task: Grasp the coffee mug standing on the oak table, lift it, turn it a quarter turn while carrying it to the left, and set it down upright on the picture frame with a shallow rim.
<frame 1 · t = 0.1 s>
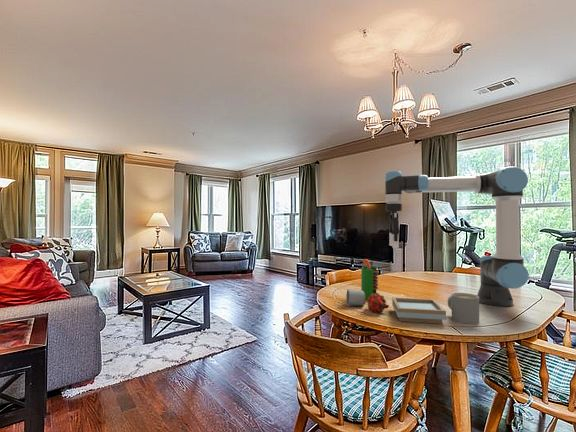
hand: (393, 247, 152), 28 cm above the table, tool pointing down, fingers open, 13 cm apart
dragon fruit: (377, 311, 141), on the table
green and brown toy: (369, 298, 165), on the table
coffee mug: (462, 318, 130), on the table
ceramic mug: (354, 305, 152), on the table
picture frame: (417, 316, 133), on the table
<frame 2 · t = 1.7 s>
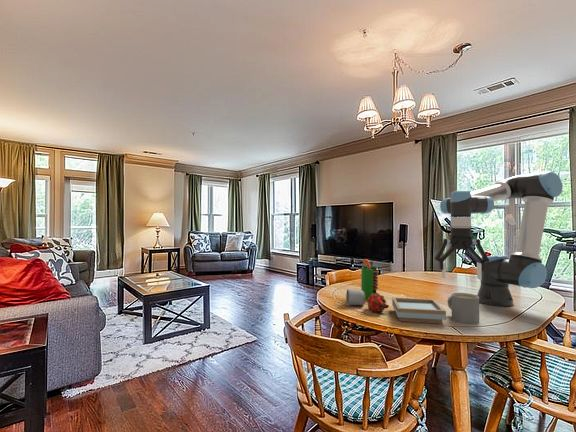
hand: (461, 278, 131), 17 cm above the table, tool pointing down, fingers open, 13 cm apart
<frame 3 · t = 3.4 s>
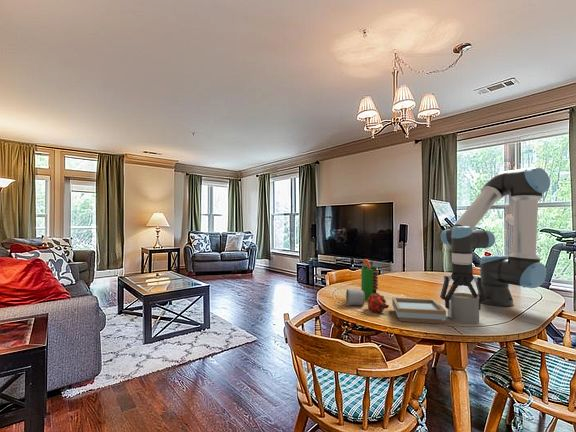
hand: (462, 317, 130), 1 cm above the table, tool pointing down, fingers closed on coffee mug, 9 cm apart
coffee mug: (462, 319, 130), on the table, touching gripper
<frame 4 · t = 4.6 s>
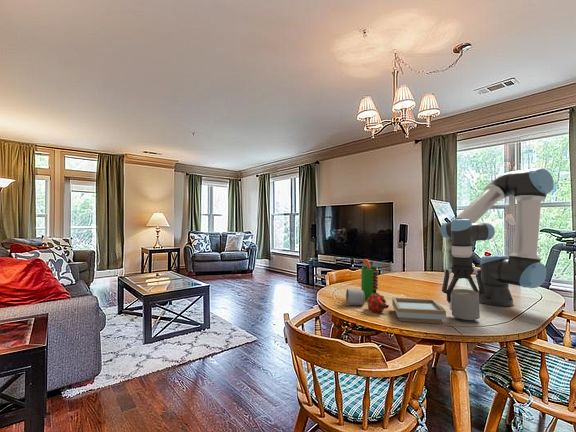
hand: (463, 310, 131), 3 cm above the table, tool pointing down, fingers closed on coffee mug, 8 cm apart
coffee mug: (462, 315, 131), point 1 cm above the table, touching gripper
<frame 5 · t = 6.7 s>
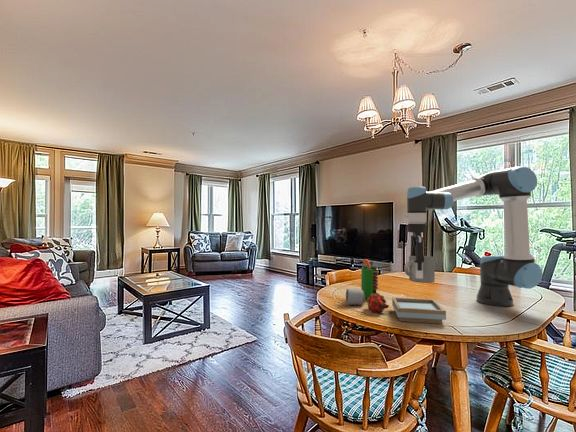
hand: (416, 276, 133), 17 cm above the table, tool pointing down, fingers closed on coffee mug, 8 cm apart
coffee mug: (417, 281, 133), point 15 cm above the table, touching gripper
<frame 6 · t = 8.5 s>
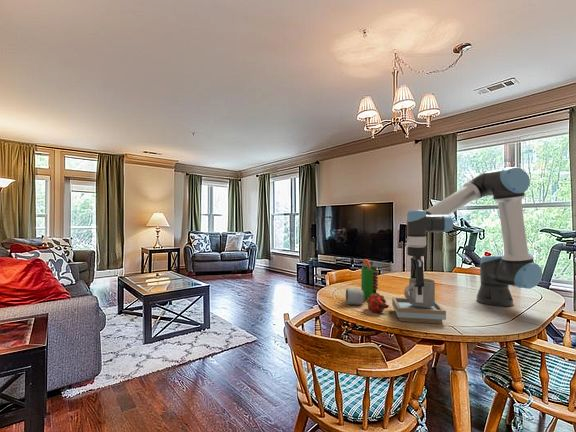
hand: (417, 299, 133), 7 cm above the table, tool pointing down, fingers closed on coffee mug, 8 cm apart
coffee mug: (418, 304, 133), point 5 cm above the table, touching gripper
when the fingers open (7 cm above the table, at t = 8.5 s): coffee mug moves 5 cm, resting on picture frame.
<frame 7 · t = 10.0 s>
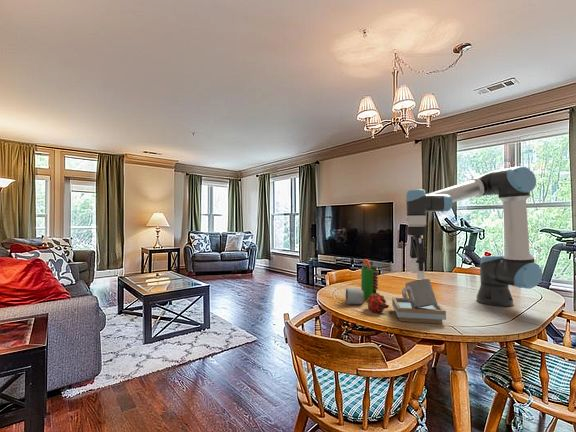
hand: (417, 275, 133), 17 cm above the table, tool pointing down, fingers open, 13 cm apart
coffee mug: (420, 307, 128), point 6 cm above the table, touching picture frame
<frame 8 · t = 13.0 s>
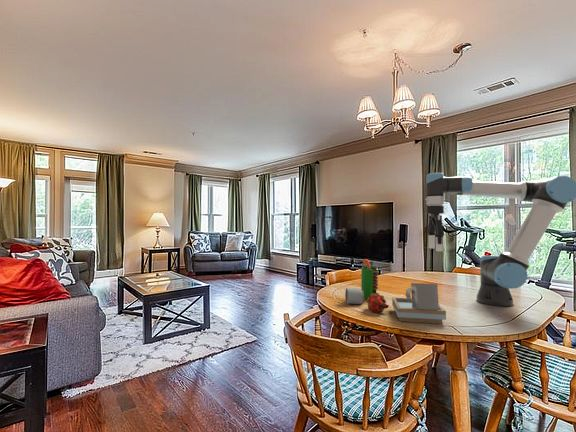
hand: (435, 249, 150), 27 cm above the table, tool pointing down, fingers open, 13 cm apart
at the end: coffee mug inside the target area on the picture frame (5.9 cm from its centre), point 4.9 cm above the picture frame's base; coffee mug tilted 12°; the gripper is holding nothing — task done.
